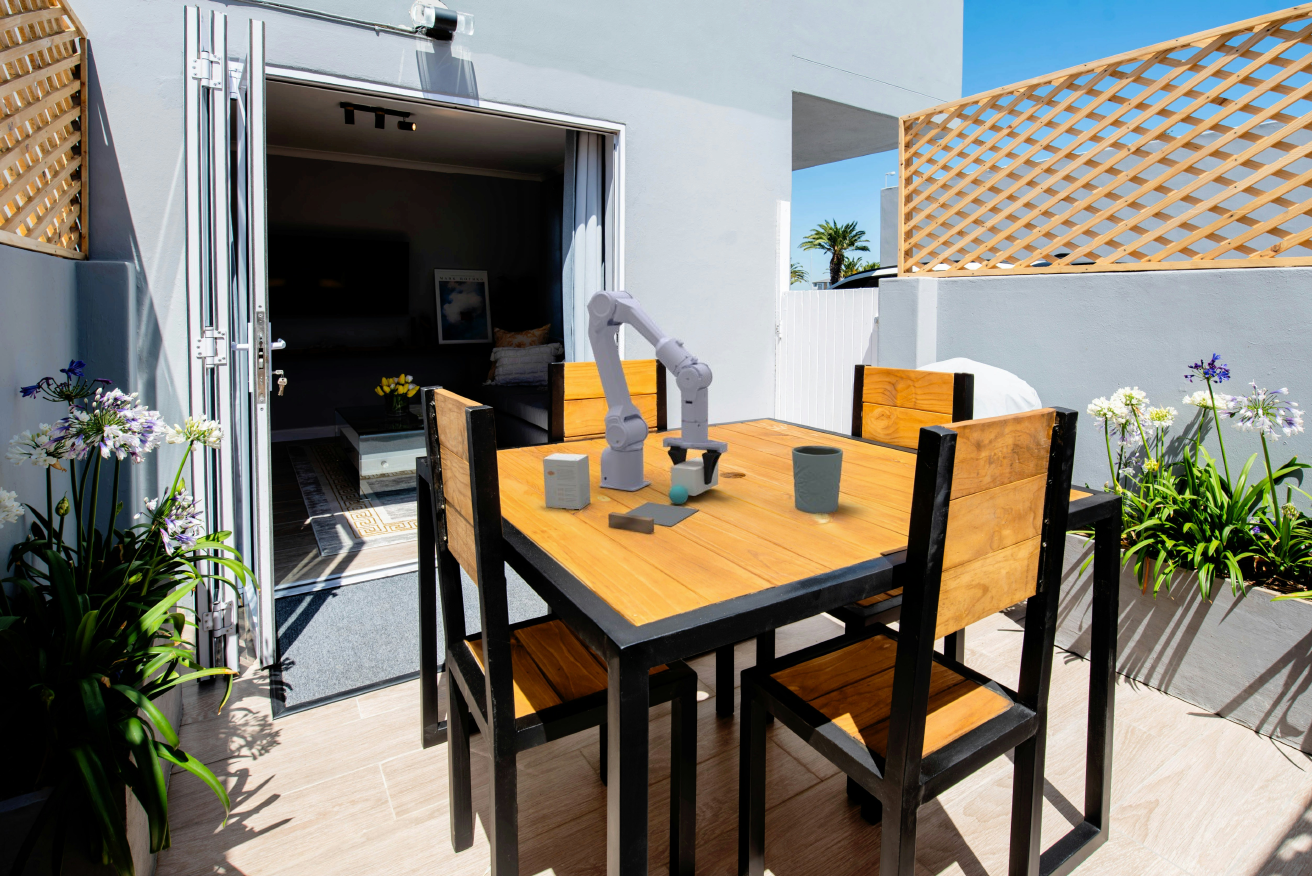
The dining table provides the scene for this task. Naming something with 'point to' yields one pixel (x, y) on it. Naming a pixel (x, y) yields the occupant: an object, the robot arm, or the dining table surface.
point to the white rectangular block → (692, 476)
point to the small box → (566, 481)
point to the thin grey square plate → (663, 513)
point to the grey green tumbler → (817, 478)
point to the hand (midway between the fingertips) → (694, 482)
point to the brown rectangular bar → (631, 522)
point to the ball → (678, 494)
